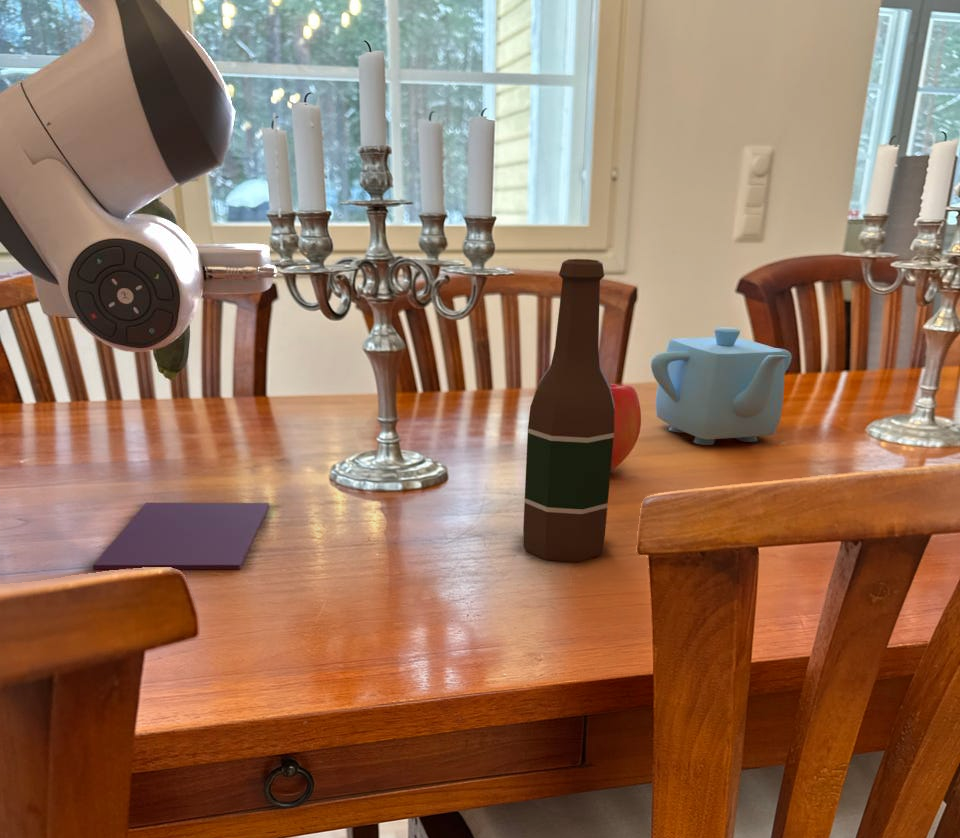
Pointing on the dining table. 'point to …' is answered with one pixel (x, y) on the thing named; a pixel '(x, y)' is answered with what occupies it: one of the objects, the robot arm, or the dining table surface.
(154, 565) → the placemat
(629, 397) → the apple
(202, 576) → the dining table surface
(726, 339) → the teapot
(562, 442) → the beer bottle
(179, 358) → the vegetable
